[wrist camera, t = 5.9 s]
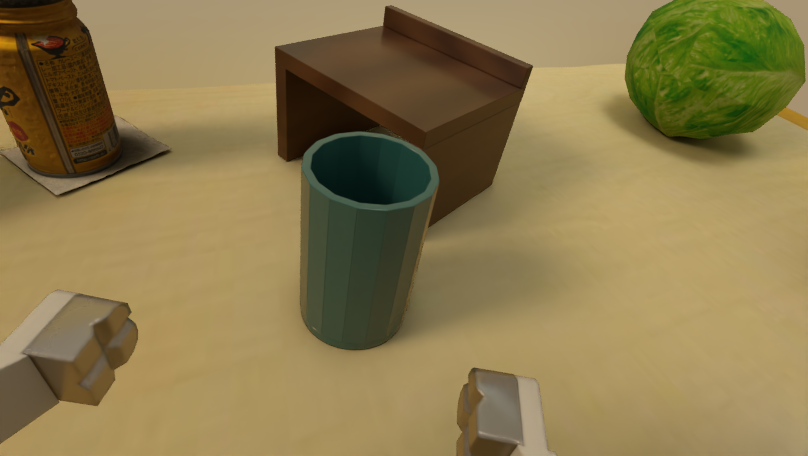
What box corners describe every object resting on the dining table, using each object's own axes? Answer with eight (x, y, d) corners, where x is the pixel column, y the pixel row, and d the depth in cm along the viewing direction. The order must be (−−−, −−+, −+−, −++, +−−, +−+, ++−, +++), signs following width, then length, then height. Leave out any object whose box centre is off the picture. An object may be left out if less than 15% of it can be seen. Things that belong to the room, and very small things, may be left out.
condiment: (-1, 153, 32) (-94, -35, 24) (116, 116, 38) (70, -45, 30) (57, 198, 30) (-27, 4, 22) (172, 151, 36) (138, -15, 28)
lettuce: (758, 162, 57) (878, 49, 47) (675, 176, 46) (807, 33, 36) (658, 90, 66) (741, -19, 56) (569, 87, 55) (651, -48, 45)
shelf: (492, 184, 39) (533, 65, 32) (402, 244, 32) (432, 106, 25) (376, 117, 45) (391, 4, 38) (277, 155, 38) (273, 22, 31)
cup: (425, 309, 28) (464, 175, 21) (352, 371, 24) (373, 230, 17) (354, 254, 30) (370, 119, 24) (278, 302, 26) (273, 157, 20)
